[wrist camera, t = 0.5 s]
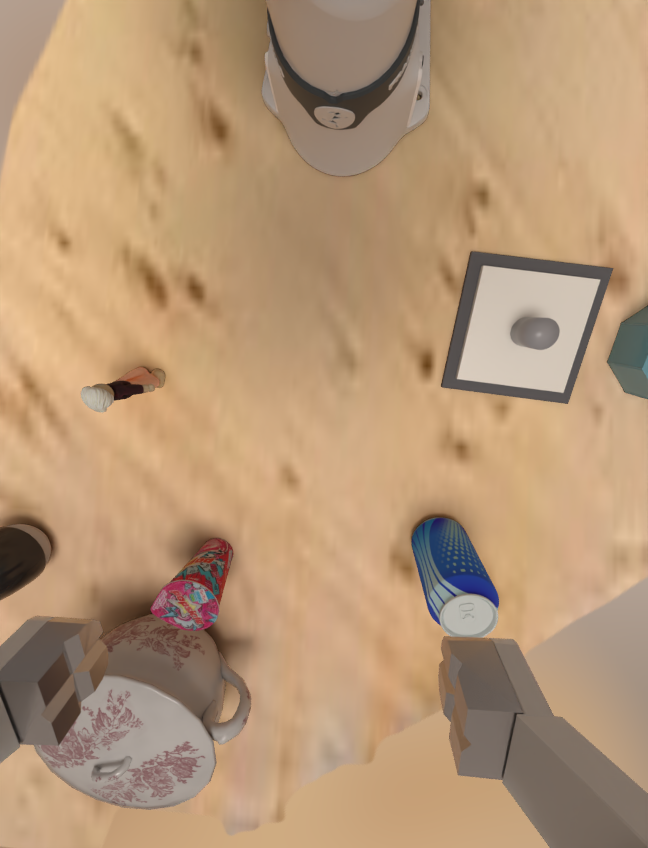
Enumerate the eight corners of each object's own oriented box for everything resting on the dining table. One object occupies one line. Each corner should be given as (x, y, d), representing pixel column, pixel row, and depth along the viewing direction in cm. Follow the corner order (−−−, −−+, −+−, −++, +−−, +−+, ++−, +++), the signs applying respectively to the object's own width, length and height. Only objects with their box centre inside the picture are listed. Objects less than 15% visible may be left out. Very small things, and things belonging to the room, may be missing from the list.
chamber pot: (83, 660, 71) (-20, 796, 51) (132, 559, 63) (32, 673, 43) (213, 720, 73) (162, 872, 54) (275, 630, 65) (243, 770, 46)
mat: (470, 252, 45) (472, 251, 45) (610, 268, 45) (613, 268, 44) (441, 386, 50) (441, 387, 50) (565, 402, 50) (567, 403, 49)
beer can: (475, 527, 56) (522, 608, 41) (445, 567, 59) (479, 657, 44) (428, 504, 56) (457, 577, 41) (400, 545, 58) (417, 628, 43)
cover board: (481, 266, 45) (497, 260, 40) (596, 280, 45) (627, 276, 40) (455, 377, 49) (467, 385, 44) (560, 391, 49) (584, 400, 44)
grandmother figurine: (165, 359, 52) (109, 374, 40) (176, 384, 53) (125, 407, 41) (118, 373, 53) (49, 392, 41) (129, 398, 54) (66, 424, 42)
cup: (217, 520, 59) (186, 570, 48) (253, 555, 61) (231, 612, 49) (179, 549, 61) (140, 604, 50) (214, 583, 63) (185, 643, 52)
